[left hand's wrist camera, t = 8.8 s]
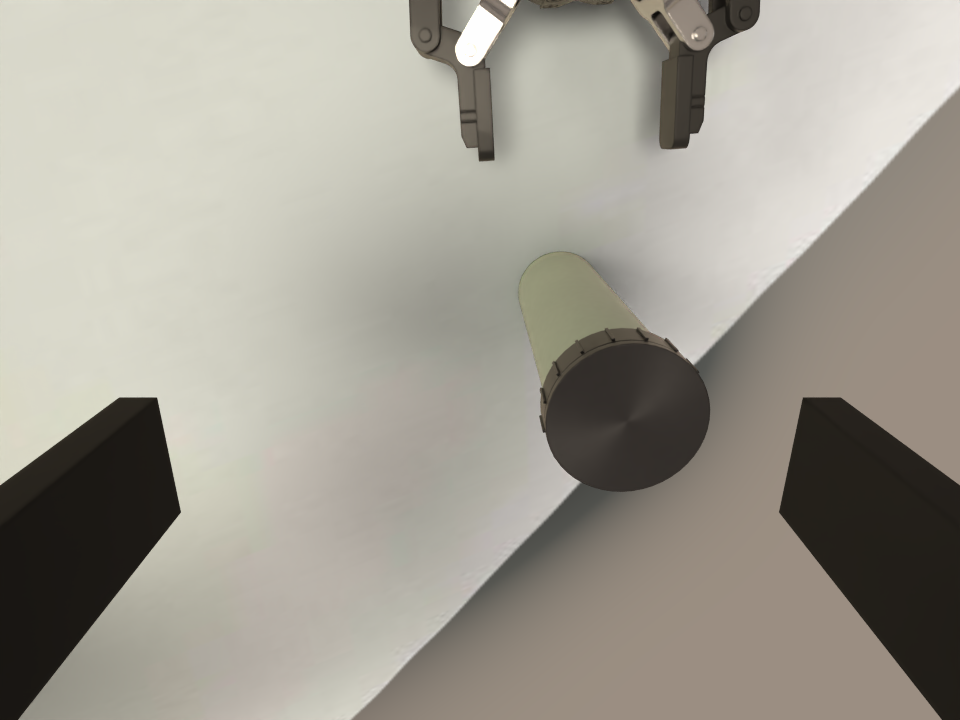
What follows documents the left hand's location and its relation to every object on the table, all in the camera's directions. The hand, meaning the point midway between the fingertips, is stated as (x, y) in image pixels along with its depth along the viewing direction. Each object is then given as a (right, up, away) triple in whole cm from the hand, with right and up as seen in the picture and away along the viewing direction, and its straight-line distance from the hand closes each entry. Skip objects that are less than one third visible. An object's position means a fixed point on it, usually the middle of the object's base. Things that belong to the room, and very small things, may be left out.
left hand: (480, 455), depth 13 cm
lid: (+5, 0, +8) cm, 9 cm away
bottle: (+5, +6, +24) cm, 25 cm away
